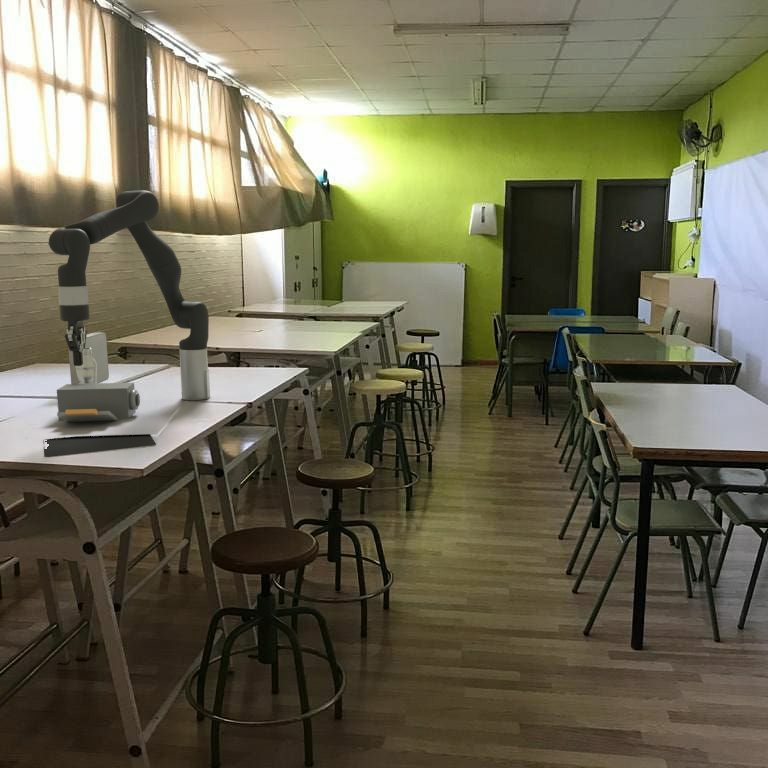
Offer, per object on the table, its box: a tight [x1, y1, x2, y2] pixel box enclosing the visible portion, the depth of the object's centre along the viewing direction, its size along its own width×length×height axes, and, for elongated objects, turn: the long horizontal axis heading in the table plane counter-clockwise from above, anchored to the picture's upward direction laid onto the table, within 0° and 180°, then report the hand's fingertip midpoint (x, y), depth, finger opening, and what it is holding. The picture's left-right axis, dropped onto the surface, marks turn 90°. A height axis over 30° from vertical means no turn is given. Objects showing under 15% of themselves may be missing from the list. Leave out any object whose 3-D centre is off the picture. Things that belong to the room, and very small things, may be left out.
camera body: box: [56, 382, 141, 422], centre depth 228 cm, size 22×10×10 cm, turn 96°
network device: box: [67, 332, 110, 384], centre depth 277 cm, size 26×9×20 cm, turn 179°
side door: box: [56, 409, 119, 423], centre depth 217 cm, size 14×1×13 cm
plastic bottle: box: [75, 348, 97, 384], centre depth 239 cm, size 6×7×20 cm
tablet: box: [43, 433, 157, 458], centre depth 200 cm, size 27×1×20 cm
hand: (78, 365), depth 210 cm, fingers closed
